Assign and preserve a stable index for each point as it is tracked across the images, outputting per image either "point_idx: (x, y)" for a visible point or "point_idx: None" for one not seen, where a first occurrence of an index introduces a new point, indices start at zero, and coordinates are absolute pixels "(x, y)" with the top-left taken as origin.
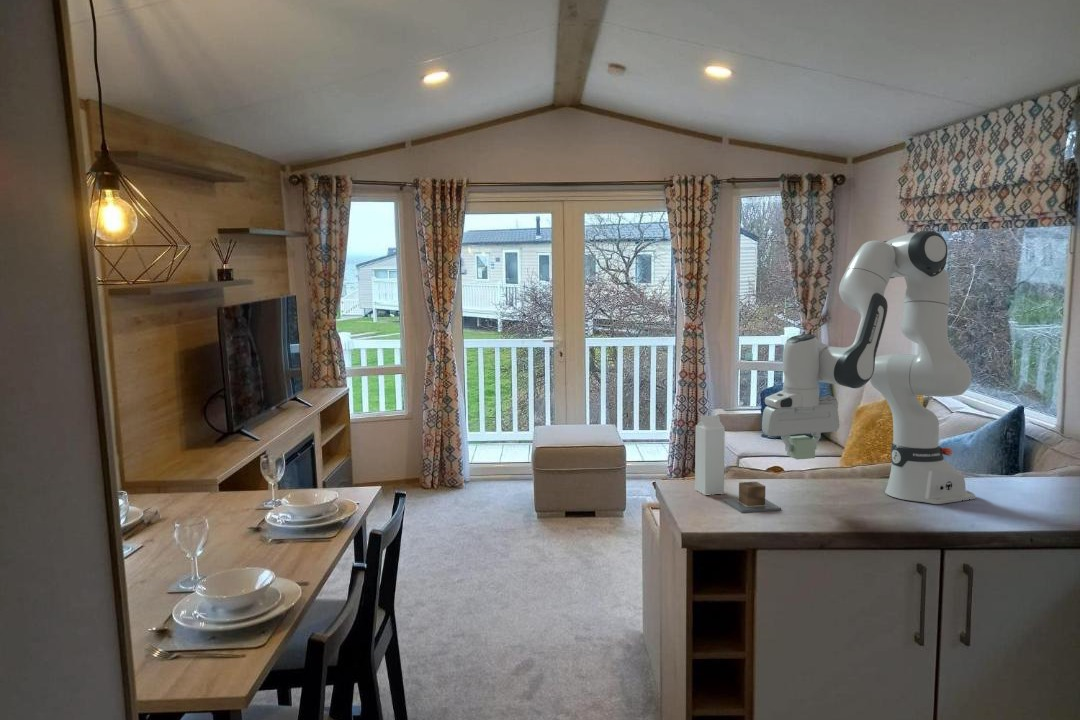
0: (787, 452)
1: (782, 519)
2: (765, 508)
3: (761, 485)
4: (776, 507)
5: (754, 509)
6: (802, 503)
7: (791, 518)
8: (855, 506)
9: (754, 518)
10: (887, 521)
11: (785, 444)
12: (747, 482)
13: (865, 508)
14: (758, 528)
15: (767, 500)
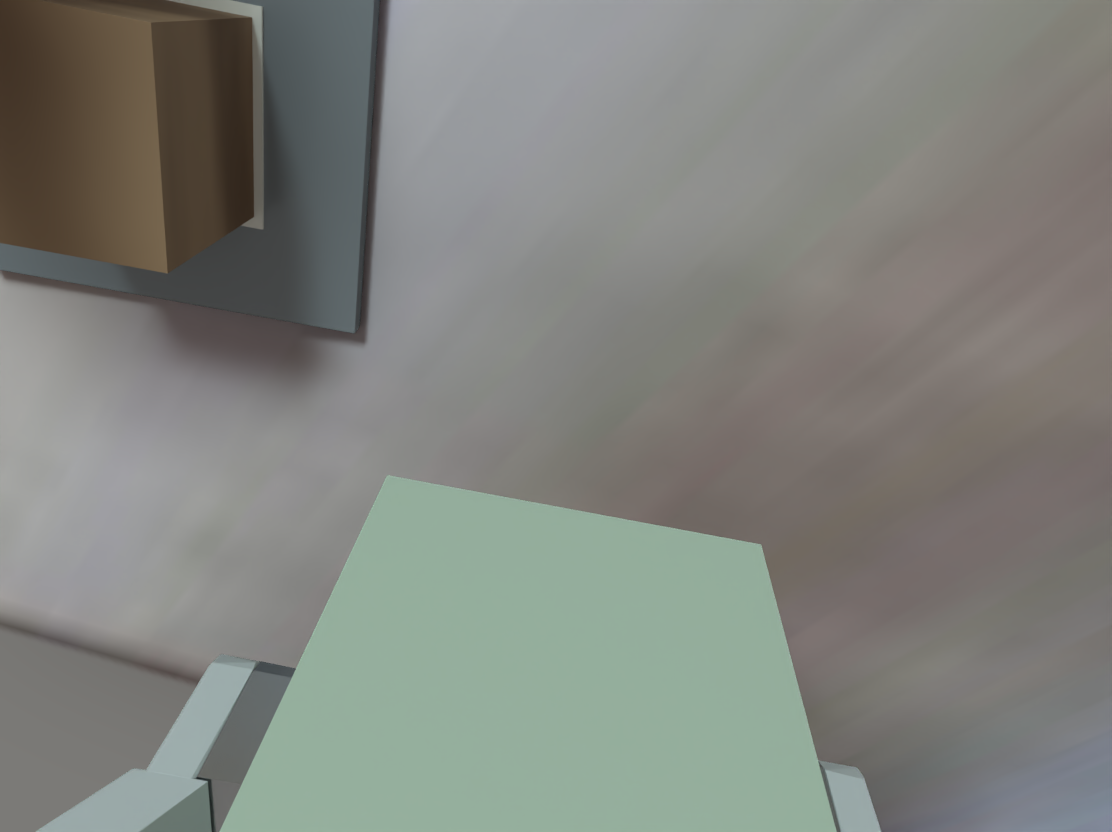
0: (369, 522)
1: (245, 497)
2: (212, 296)
3: (134, 226)
4: (321, 307)
5: (104, 284)
6: (673, 228)
7: (319, 502)
8: (988, 458)
9: (51, 412)
10: (839, 727)
11: (149, 773)
12: (5, 13)
13: (999, 518)
14: (4, 572)
15: (365, 75)
